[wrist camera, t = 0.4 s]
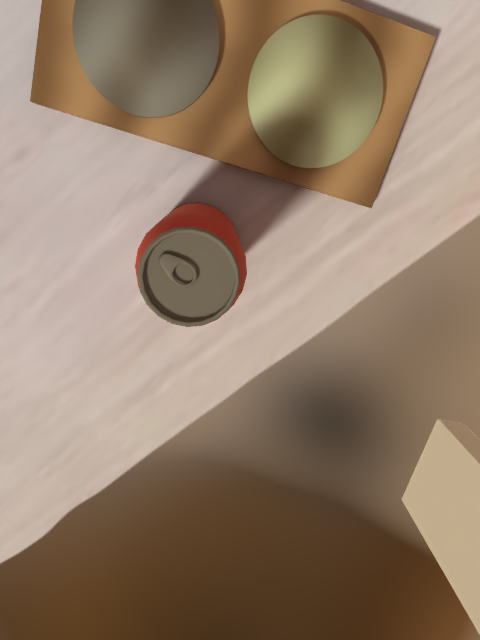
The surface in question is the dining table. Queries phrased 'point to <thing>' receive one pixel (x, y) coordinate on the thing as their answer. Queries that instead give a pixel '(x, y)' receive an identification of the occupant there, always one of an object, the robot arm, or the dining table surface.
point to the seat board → (240, 81)
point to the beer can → (191, 265)
